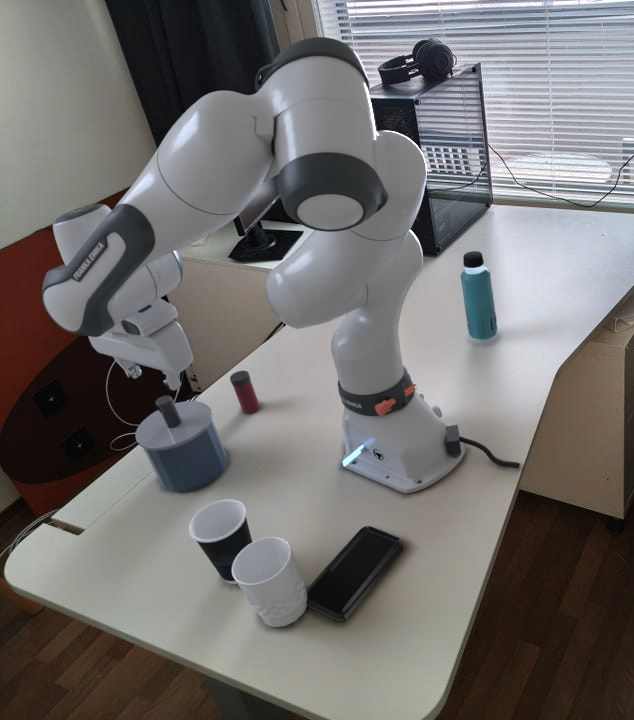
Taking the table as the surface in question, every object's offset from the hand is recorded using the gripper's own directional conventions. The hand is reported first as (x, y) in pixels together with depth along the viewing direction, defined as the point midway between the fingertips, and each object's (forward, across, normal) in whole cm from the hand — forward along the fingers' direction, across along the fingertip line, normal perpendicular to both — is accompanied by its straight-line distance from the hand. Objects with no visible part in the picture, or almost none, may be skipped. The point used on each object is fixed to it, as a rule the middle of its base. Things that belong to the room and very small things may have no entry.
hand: (154, 381), depth 113 cm
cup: (+19, 0, 0) cm, 19 cm away
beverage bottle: (+19, +30, +56) cm, 66 cm away
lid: (+9, 0, 0) cm, 9 cm away
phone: (+19, +42, -8) cm, 47 cm away
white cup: (+19, +36, -16) cm, 44 cm away
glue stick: (+19, -3, +18) cm, 26 cm away
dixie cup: (+19, +25, -14) cm, 35 cm away
